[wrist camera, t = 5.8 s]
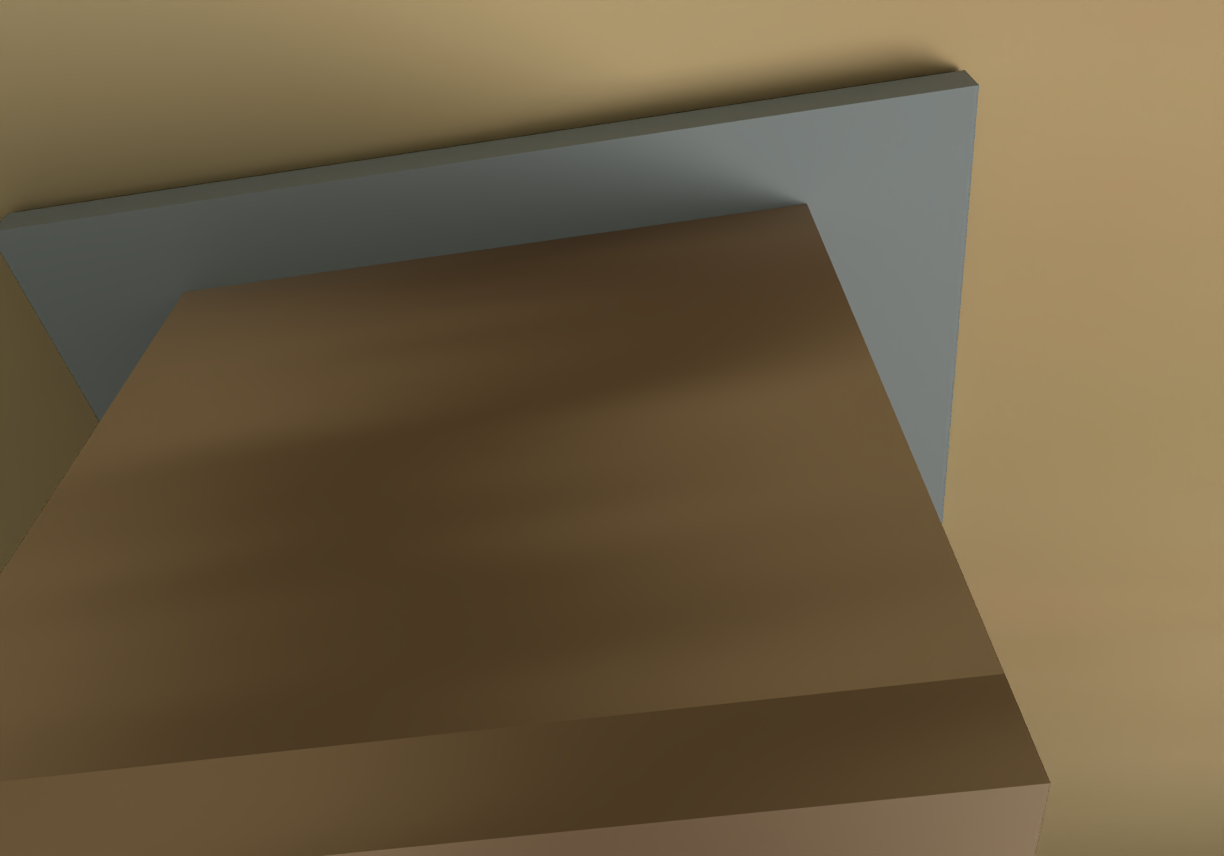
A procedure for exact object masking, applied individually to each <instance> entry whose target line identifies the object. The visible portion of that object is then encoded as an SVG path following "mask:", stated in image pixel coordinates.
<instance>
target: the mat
mask: <svg viewBox="0 0 1224 856" xmlns="http://www.w3.org/2000/svg"><path fill="white" fill-rule="evenodd" d="M978 91H979V85H978V84H977V83H976V82H975V80H974V79H973V78H972V77H971V76H970V75H969V74H968V73H967V72H966V71H965V70H962V71H955V72H949V73H942V74H935V75H929V76H922V77H915V78H909V79H902V80H895V81H889V82H882V83H875V84H869V85H862V86H855V87H849V88H842V89H835V90H829V91H822V92H815V93H809V94H802V95H795V96H788V97H782V98H775V99H768V100H762V101H755V102H748V103H742V104H735V105H728V106H722V107H715V108H708V109H702V110H695V111H688V112H682V113H675V114H668V115H662V116H655V117H648V118H642V119H635V120H628V121H621V122H615V123H608V124H601V125H595V126H588V127H581V128H575V129H568V130H561V131H555V132H548V133H541V134H535V135H528V136H521V137H515V138H508V139H501V140H495V141H488V142H481V143H475V144H468V145H461V146H454V147H448V148H441V149H434V150H428V151H421V152H414V153H408V154H401V155H394V156H388V157H381V158H374V159H368V160H361V161H354V162H348V163H341V164H334V165H328V166H321V167H314V168H308V169H301V170H294V171H287V172H281V173H274V174H267V175H261V176H254V177H247V178H241V179H234V180H227V181H221V182H214V183H207V184H201V185H194V186H187V187H181V188H174V189H167V190H161V191H154V192H147V193H141V194H134V195H127V196H120V197H114V198H107V199H100V200H94V201H87V202H80V203H74V204H67V205H60V206H54V207H47V208H40V209H34V210H27V211H20V212H14V213H9V214H7V215H6V216H5V217H4V218H3V219H2V220H1V221H0V252H1V254H2V256H3V257H4V259H5V261H6V263H7V264H8V266H9V268H10V269H11V271H12V273H13V275H14V276H15V278H16V280H17V281H18V283H19V285H20V287H21V288H22V290H23V292H24V293H25V295H26V297H27V299H28V300H29V302H30V304H31V305H32V307H33V309H34V311H35V312H36V314H37V316H38V317H39V319H40V321H41V323H42V324H43V326H44V328H45V329H46V331H47V333H48V335H49V336H50V338H51V340H52V341H53V343H54V345H55V347H56V348H57V350H58V352H59V353H60V355H61V357H62V359H63V360H64V362H65V364H66V365H67V367H68V369H69V371H70V372H71V374H72V376H73V377H74V379H75V381H76V383H77V384H78V386H79V388H80V389H81V391H82V393H83V395H84V396H85V398H86V400H87V401H88V403H89V405H90V406H91V408H92V410H93V412H94V413H95V415H96V417H97V418H98V420H99V422H100V420H101V419H102V417H103V416H104V414H105V413H106V411H107V410H108V408H109V407H110V405H111V403H112V402H113V400H114V399H115V397H116V396H117V394H118V393H119V391H120V390H121V388H122V387H123V385H124V383H125V382H126V380H127V379H128V377H129V376H130V374H131V373H132V371H133V370H134V368H135V367H136V365H137V363H138V362H139V360H140V359H141V357H142V356H143V354H144V353H145V351H146V350H147V348H148V347H149V345H150V343H151V342H152V340H153V339H154V337H155V336H156V334H157V333H158V331H159V330H160V328H161V327H162V325H163V323H164V322H165V320H166V319H167V317H168V316H169V314H170V313H171V311H172V310H173V308H174V307H175V305H176V303H177V302H178V300H179V299H180V297H181V296H182V294H183V293H184V292H188V291H195V290H202V289H209V288H216V287H223V286H230V285H237V284H244V283H251V282H258V281H265V280H272V279H280V278H287V277H294V276H301V275H308V274H315V273H322V272H329V271H336V270H343V269H350V268H357V267H364V266H371V265H378V264H385V263H392V262H399V261H406V260H413V259H420V258H427V257H435V256H442V255H449V254H456V253H463V252H470V251H477V250H484V249H491V248H498V247H505V246H512V245H519V244H526V243H533V242H540V241H547V240H554V239H561V238H568V237H575V236H583V235H590V234H597V233H604V232H611V231H618V230H625V229H632V228H639V227H646V226H653V225H660V224H667V223H674V222H681V221H688V220H695V219H702V218H709V217H716V216H723V215H731V214H738V213H745V212H752V211H759V210H766V209H773V208H780V207H787V206H794V205H801V204H807V205H808V208H809V210H810V212H811V215H812V217H813V219H814V222H815V224H816V227H817V229H818V231H819V234H820V236H821V238H822V241H823V243H824V246H825V248H826V250H827V253H828V255H829V257H830V260H831V262H832V265H833V267H834V269H835V272H836V274H837V276H838V279H839V281H840V284H841V286H842V288H843V291H844V293H845V296H846V298H847V300H848V303H849V305H850V307H851V310H852V312H853V315H854V317H855V319H856V322H857V324H858V326H859V329H860V331H861V334H862V336H863V338H864V341H865V343H866V345H867V348H868V350H869V353H870V355H871V357H872V360H873V362H874V364H875V367H876V369H877V372H878V374H879V376H880V379H881V381H882V384H883V386H884V388H885V391H886V393H887V395H888V398H889V400H890V403H891V405H892V407H893V410H894V412H895V414H896V417H897V419H898V422H899V424H900V426H901V429H902V431H903V433H904V436H905V438H906V441H907V443H908V445H909V448H910V450H911V452H912V455H913V457H914V460H915V462H916V464H917V467H918V469H919V471H920V474H921V476H922V479H923V481H924V483H925V486H926V488H927V491H928V493H929V495H930V498H931V500H932V502H933V505H934V507H935V510H936V512H937V514H938V517H939V519H940V521H941V524H942V519H943V507H944V495H945V483H946V472H947V460H948V448H949V436H950V424H951V412H952V400H953V388H954V376H955V364H956V352H957V341H958V329H959V317H960V305H961V293H962V281H963V269H964V257H965V245H966V233H967V221H968V210H969V198H970V186H971V174H972V162H973V150H974V138H975V126H976V114H977V102H978Z"/></svg>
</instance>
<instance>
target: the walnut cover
mask: <svg viewBox="0 0 1224 856" xmlns="http://www.w3.org/2000/svg"><path fill="white" fill-rule="evenodd" d="M1050 784H1051V783H1050V781H1049V778H1048V776H1047V774H1046V771H1045V769H1044V766H1043V764H1042V762H1041V759H1040V757H1039V755H1038V752H1037V750H1036V747H1035V745H1034V743H1033V740H1032V738H1031V735H1030V733H1029V731H1028V728H1027V726H1026V724H1025V721H1024V719H1023V716H1022V714H1021V712H1020V709H1019V707H1018V705H1017V702H1016V700H1015V697H1014V695H1013V693H1012V690H1011V688H1010V686H1009V683H1008V681H1007V678H1006V676H1005V674H1004V671H1003V669H1002V667H1001V664H1000V662H999V659H998V657H997V655H996V652H995V650H994V647H993V645H992V643H991V640H990V638H989V636H988V633H987V631H986V628H985V626H984V624H983V621H982V619H981V617H980V614H979V612H978V609H977V607H976V605H975V602H974V600H973V598H972V595H971V593H970V590H969V588H968V586H967V583H966V581H965V579H964V576H963V574H962V571H961V569H960V567H959V564H958V562H957V559H956V557H955V555H954V552H953V550H952V548H951V545H950V543H949V540H948V538H947V536H946V533H945V531H944V529H943V526H942V524H941V521H940V519H939V517H938V514H937V512H936V510H935V507H934V505H933V502H932V500H931V498H930V495H929V493H928V491H927V488H926V486H925V483H924V481H923V479H922V476H921V474H920V471H919V469H918V467H917V464H916V462H915V460H914V457H913V455H912V452H911V450H910V448H909V445H908V443H907V441H906V438H905V436H904V433H903V431H902V429H901V426H900V424H899V422H898V419H897V417H896V414H895V412H894V410H893V407H892V405H891V403H890V400H889V398H888V395H887V393H886V391H885V388H884V386H883V384H882V381H881V379H880V376H879V374H878V372H877V369H876V367H875V364H874V362H873V360H872V357H871V355H870V353H869V350H868V348H867V345H866V343H865V341H864V338H863V336H862V334H861V331H860V329H859V326H858V324H857V322H856V319H855V317H854V315H853V312H852V310H851V307H850V305H849V303H848V300H847V298H846V296H845V293H844V291H843V288H842V286H841V284H840V281H839V279H838V276H837V274H836V272H835V269H834V267H833V265H832V262H831V260H830V257H829V255H828V253H827V250H826V248H825V246H824V243H823V241H822V238H821V236H820V234H819V231H818V229H817V227H816V224H815V222H814V219H813V217H812V215H811V212H810V210H809V208H808V205H807V204H801V205H794V206H787V207H780V208H773V209H766V210H759V211H752V212H745V213H738V214H731V215H723V216H716V217H709V218H702V219H695V220H688V221H681V222H674V223H667V224H660V225H653V226H646V227H639V228H632V229H625V230H618V231H611V232H604V233H597V234H590V235H583V236H575V237H568V238H561V239H554V240H547V241H540V242H533V243H526V244H519V245H512V246H505V247H498V248H491V249H484V250H477V251H470V252H463V253H456V254H449V255H442V256H435V257H427V258H420V259H413V260H406V261H399V262H392V263H385V264H378V265H371V266H364V267H357V268H350V269H343V270H336V271H329V272H322V273H315V274H308V275H301V276H294V277H287V278H280V279H272V280H265V281H258V282H251V283H244V284H237V285H230V286H223V287H216V288H209V289H202V290H195V291H188V292H184V293H183V294H182V296H181V297H180V299H179V300H178V302H177V303H176V305H175V307H174V308H173V310H172V311H171V313H170V314H169V316H168V317H167V319H166V320H165V322H164V323H163V325H162V327H161V328H160V330H159V331H158V333H157V334H156V336H155V337H154V339H153V340H152V342H151V343H150V345H149V347H148V348H147V350H146V351H145V353H144V354H143V356H142V357H141V359H140V360H139V362H138V363H137V365H136V367H135V368H134V370H133V371H132V373H131V374H130V376H129V377H128V379H127V380H126V382H125V383H124V385H123V387H122V388H121V390H120V391H119V393H118V394H117V396H116V397H115V399H114V400H113V402H112V403H111V405H110V407H109V408H108V410H107V411H106V413H105V414H104V416H103V417H102V419H101V420H100V422H99V423H98V425H97V427H96V428H95V430H94V431H93V433H92V434H91V436H90V437H89V439H88V440H87V442H86V443H85V445H84V447H83V448H82V450H81V451H80V453H79V454H78V456H77V457H76V459H75V460H74V462H73V463H72V465H71V467H70V468H69V470H68V471H67V473H66V474H65V476H64V477H63V479H62V480H61V482H60V484H59V485H58V487H57V488H56V490H55V491H54V493H53V494H52V496H51V497H50V499H49V500H48V502H47V504H46V505H45V507H44V508H43V510H42V511H41V513H40V514H39V516H38V517H37V519H36V520H35V522H34V524H33V525H32V527H31V528H30V530H29V531H28V533H27V534H26V536H25V537H24V539H23V540H22V542H21V544H20V545H19V547H18V548H17V550H16V551H15V553H14V554H13V556H12V557H11V559H10V560H9V562H8V564H7V565H6V567H5V568H4V570H3V571H2V573H1V574H0V856H1035V851H1036V847H1037V842H1038V838H1039V833H1040V829H1041V824H1042V820H1043V815H1044V811H1045V806H1046V802H1047V797H1048V793H1049V788H1050Z"/></svg>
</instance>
